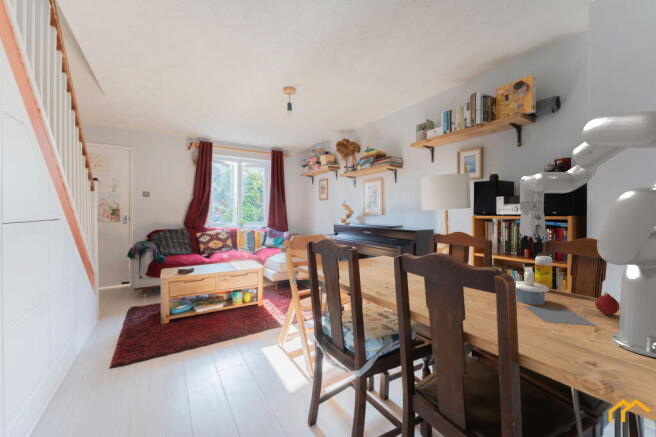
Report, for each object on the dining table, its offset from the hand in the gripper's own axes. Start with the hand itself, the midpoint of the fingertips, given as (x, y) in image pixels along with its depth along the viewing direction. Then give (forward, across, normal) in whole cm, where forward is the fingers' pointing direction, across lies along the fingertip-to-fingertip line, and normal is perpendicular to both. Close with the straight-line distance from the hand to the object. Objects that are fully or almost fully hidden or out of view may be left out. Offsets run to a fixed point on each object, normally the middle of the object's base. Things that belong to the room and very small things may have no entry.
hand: (530, 251), depth 110 cm
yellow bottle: (+20, +20, -14) cm, 31 cm away
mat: (+20, -14, -2) cm, 25 cm away
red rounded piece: (+20, -10, -19) cm, 30 cm away
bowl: (+20, +1, 0) cm, 20 cm away
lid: (+14, +1, 0) cm, 15 cm away
